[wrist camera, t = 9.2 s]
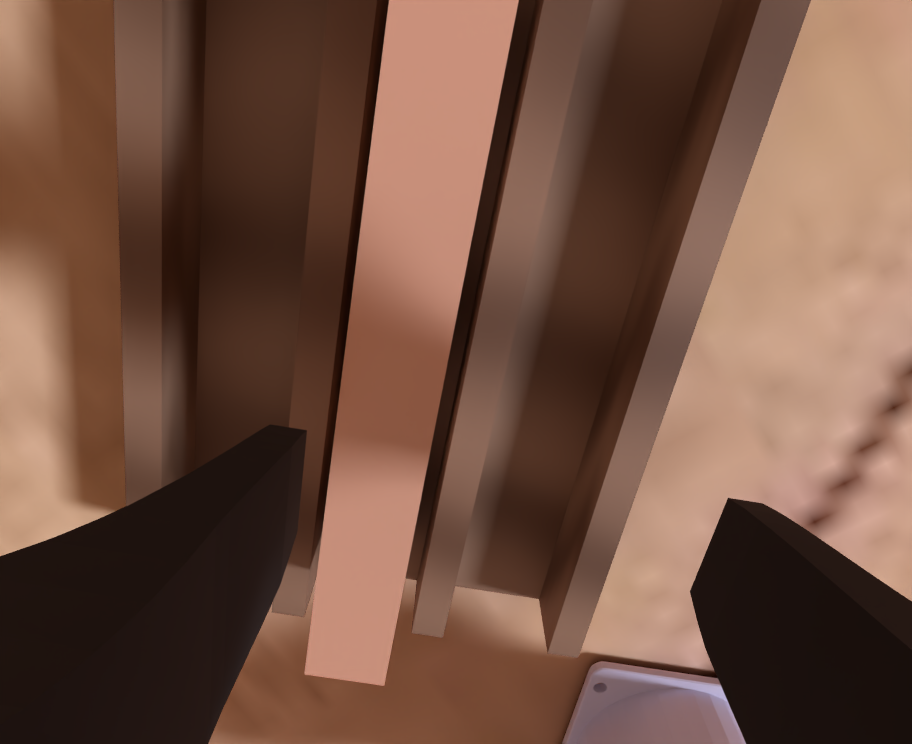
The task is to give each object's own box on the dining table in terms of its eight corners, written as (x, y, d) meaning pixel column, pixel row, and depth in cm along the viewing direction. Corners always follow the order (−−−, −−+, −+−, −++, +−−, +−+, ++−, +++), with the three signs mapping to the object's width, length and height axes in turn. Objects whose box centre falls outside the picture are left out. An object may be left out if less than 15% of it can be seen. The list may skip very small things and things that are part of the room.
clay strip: (404, 534, 21) (384, 686, 16) (346, 525, 21) (304, 674, 15) (506, -2, 15) (532, -69, 9) (424, -20, 15) (400, -98, 9)
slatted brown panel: (563, 587, 23) (577, 657, 20) (173, 526, 22) (128, 590, 19) (766, -45, 15) (839, -82, 12) (180, -176, 14) (107, -250, 11)
